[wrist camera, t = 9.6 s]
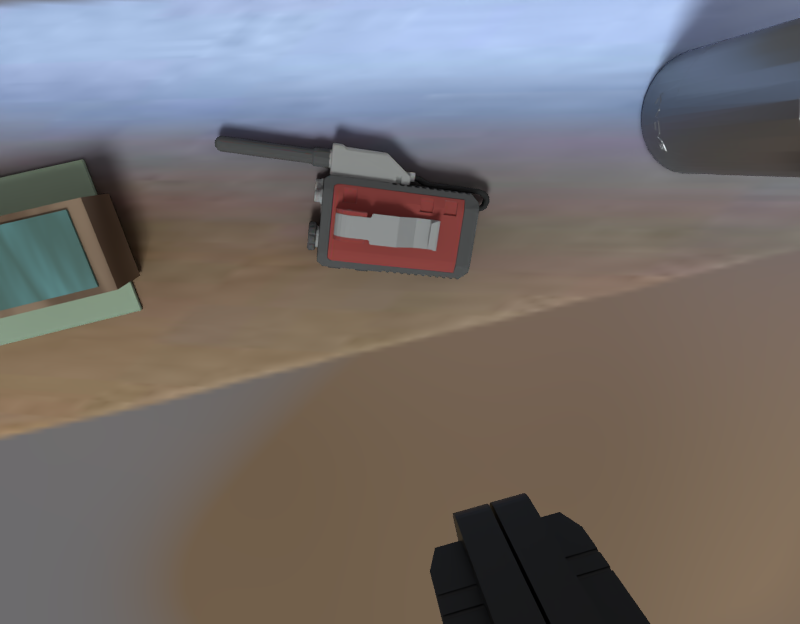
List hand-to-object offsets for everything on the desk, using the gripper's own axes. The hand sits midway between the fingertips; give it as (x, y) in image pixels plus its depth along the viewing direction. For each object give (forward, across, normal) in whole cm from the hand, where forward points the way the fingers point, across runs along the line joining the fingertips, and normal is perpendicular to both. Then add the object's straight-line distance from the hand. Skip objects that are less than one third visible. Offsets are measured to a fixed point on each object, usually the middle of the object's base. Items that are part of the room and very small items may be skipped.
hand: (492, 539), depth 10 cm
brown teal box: (+29, +16, -6) cm, 34 cm away
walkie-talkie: (+32, 0, -4) cm, 33 cm away
